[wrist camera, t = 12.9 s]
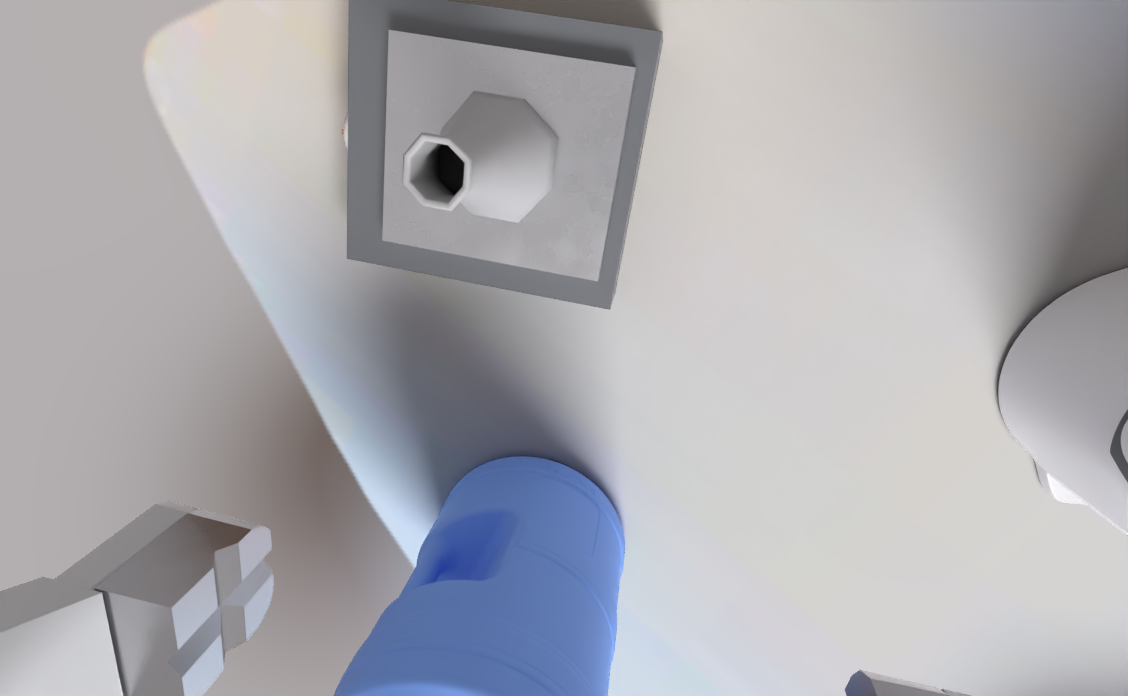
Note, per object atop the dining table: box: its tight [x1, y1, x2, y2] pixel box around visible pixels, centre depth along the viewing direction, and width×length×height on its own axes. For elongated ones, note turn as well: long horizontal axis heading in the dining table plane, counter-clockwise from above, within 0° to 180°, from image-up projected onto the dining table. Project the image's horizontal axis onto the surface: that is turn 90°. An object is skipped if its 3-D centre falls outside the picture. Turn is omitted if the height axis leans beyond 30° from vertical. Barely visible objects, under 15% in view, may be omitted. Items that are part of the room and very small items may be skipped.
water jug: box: [334, 456, 625, 696], centre depth 37 cm, size 16×16×28 cm
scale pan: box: [382, 30, 637, 281], centre depth 35 cm, size 14×12×1 cm
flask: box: [402, 91, 558, 223], centre depth 30 cm, size 7×7×10 cm
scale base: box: [342, 0, 663, 309], centre depth 38 cm, size 19×16×4 cm
